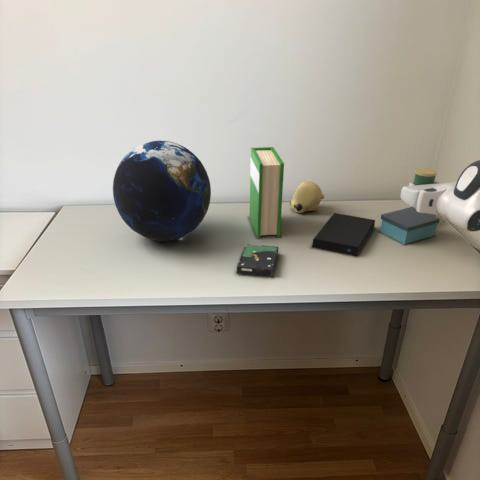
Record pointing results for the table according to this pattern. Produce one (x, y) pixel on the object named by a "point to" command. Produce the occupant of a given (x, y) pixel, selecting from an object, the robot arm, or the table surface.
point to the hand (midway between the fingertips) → (421, 184)
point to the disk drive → (258, 260)
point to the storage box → (408, 225)
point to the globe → (161, 190)
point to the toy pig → (306, 197)
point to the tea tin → (424, 176)
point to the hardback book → (266, 191)
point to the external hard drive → (344, 234)
